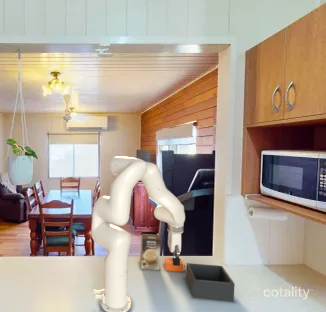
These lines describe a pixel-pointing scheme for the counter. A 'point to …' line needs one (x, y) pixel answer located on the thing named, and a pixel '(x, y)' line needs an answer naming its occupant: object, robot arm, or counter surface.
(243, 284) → the counter surface
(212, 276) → the trash bin
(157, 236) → the coffee box
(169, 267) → the block
